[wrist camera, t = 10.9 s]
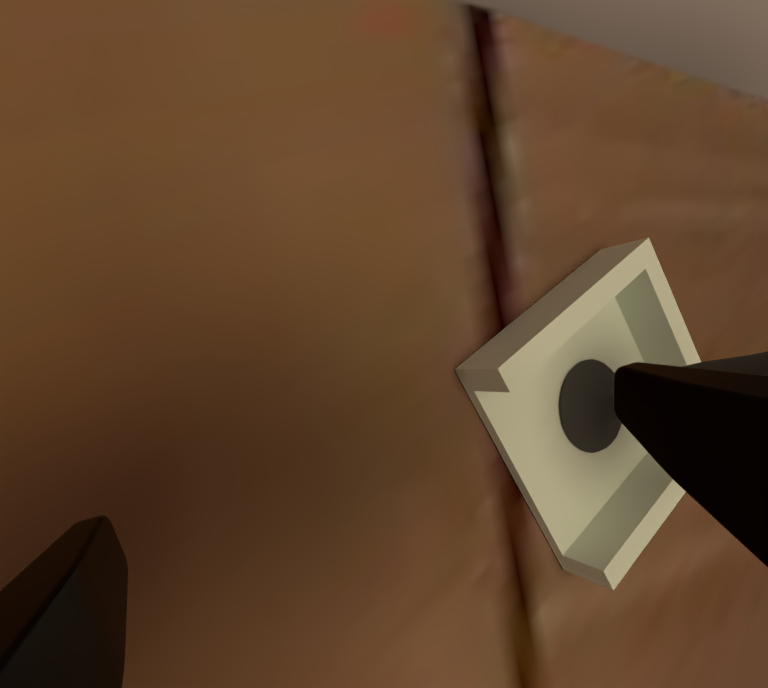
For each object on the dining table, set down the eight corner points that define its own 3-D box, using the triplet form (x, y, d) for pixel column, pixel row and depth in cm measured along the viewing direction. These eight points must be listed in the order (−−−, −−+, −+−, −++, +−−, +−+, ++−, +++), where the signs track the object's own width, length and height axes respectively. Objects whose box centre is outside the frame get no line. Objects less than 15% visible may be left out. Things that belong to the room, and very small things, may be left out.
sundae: (637, 357, 30) (1055, 344, 17) (623, 476, 29) (1059, 557, 16) (556, 327, 27) (989, 282, 14) (537, 458, 26) (988, 540, 13)
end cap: (563, 569, 27) (613, 590, 25) (454, 369, 25) (497, 368, 22) (678, 426, 33) (730, 431, 30) (600, 249, 30) (648, 237, 27)
